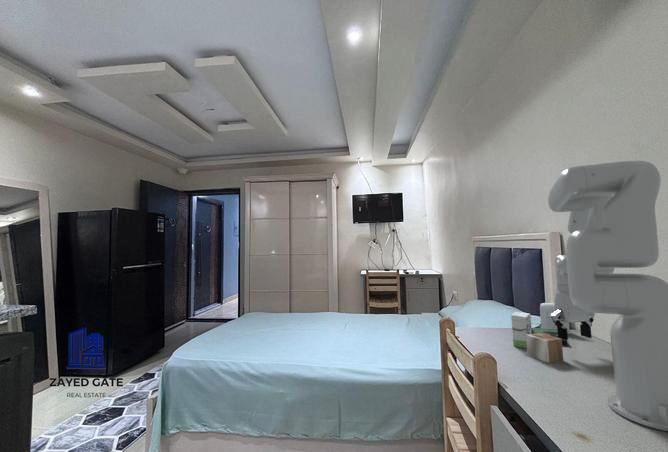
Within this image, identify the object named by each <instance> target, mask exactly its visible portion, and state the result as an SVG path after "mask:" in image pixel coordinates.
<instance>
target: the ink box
mask: <svg viewBox="0 0 668 452" xmlns="http://www.w3.org/2000/svg"><path fill="white" fill-rule="evenodd" d="M510 317H511V330H512V343H513V346H514V347H518V348H522V349H523V348H524V349H527V341H526V334H532V330H531V328H532V320H531V319H532V318H531V313H527V312H524V311H523V312H522V311H515V312H513V313H512V314H511V316H510Z"/></svg>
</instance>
